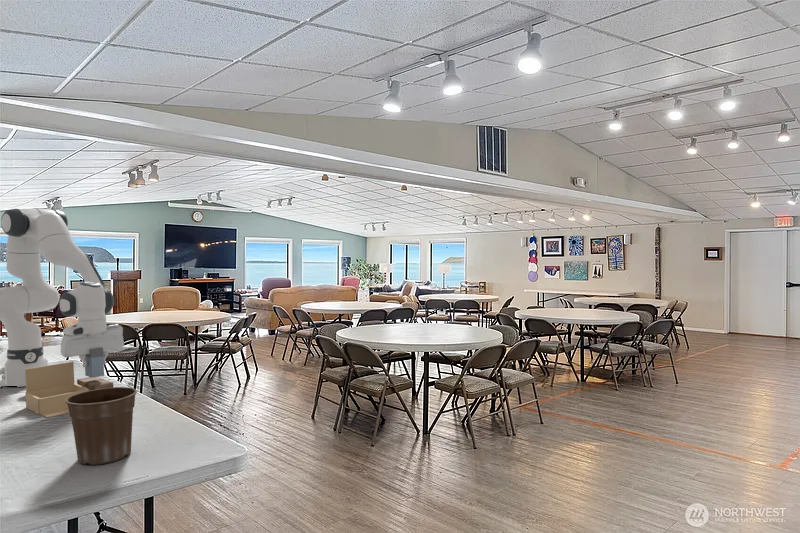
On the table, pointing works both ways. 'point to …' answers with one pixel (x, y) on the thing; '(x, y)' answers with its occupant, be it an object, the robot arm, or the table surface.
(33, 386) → the light wooden open box
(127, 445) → the plant pot
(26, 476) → the table surface
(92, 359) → the blue-grey rectangular block
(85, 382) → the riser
